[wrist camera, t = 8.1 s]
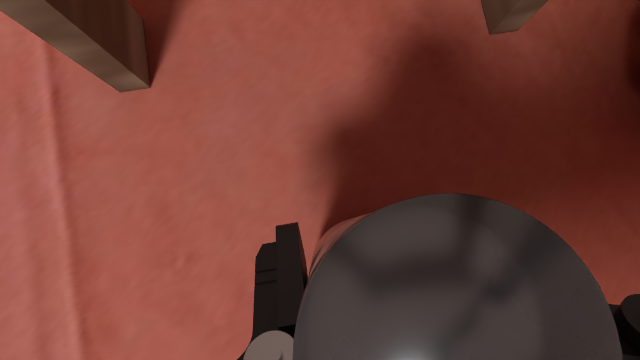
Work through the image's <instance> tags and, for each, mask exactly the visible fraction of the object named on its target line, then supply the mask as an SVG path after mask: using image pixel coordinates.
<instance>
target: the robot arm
mask: <svg viewBox="0 0 640 360" xmlns="http://www.w3.org/2000/svg"><path fill="white" fill-rule="evenodd" d="M307 282H308V275H307V267H306V260H305V254H304V249H303V244H302V240H301V235H300V230H299V226H298V222H296V223H290V224H284V225H278V226H276V242H273V243H267V244H262V246H261V248H260V250H259V252H258V254H257V256H256V263H255V289H254V314H253V333H252V338H251V341H250V343H249V345H248V347H247V349H246V350H245V352H244V353H243V354H242V355H241V356H240V357H239V358H238V359H237V360H293V341H294V334H295V328H296V322H297V317H298V313H299V308H300V304H301V301H302V297H303V294H304V290H305V287H306V285H307ZM608 305H609V307H610V310H611V313H612V316H613V319H614V322H615V324H616V327H617V331H618V336H619V341H620V345H621V350H622V359H623V360H640V294H633V295H630V296H627V297H626V298H625V299H624V300H623V301H622V303H621V304H620V305H613V304H608Z"/></svg>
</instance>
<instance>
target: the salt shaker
mask: <svg viewBox="0 0 640 360" xmlns="http://www.w3.org/2000/svg"><path fill="white" fill-rule="evenodd" d="M293 360H623V359H622V350H621V345H620V341H619V336H618V331H617V327H616V324H615V322H614V319H613V316H612V313H611V310H610V307H609V305H608V303H607V301H606V299H605V297H604V294H603V292H602V290H601V288H600V286H599V285H598V283H597V281H596V280H595V278H594V277H593V275H592V274H591V272H590V270H589V269H588V267H587V266H586V265H585V264H584V262H583V261H582V260H581V259H580V257H579V256H578V255H577V254H576V253H575V251H574V250H573V249H572V248H571V247H570V246H569V245H568V244H567V243H566V242H565V241H564V240H563V239H562V238H560V237H559V236H558V235H557V234H556V233H555V232H553V231H552V230H551V229H549V228H548V227H547V226H545V225H544V224H543V223H542V222H540V221H538V220H537V219H535V218H533V217H532V216H530V215H528V214H526V213H525V212H523V211H521V210H519V209H516V208H514V207H512V206H509V205H507V204H505V203H502V202H498V201H495V200H492V199H488V198H485V197H479V196H473V195H466V194H444V193H442V194H433V195H424V196H419V197H415V198H411V199H407V200H403V201H400V202H397V203H393V204H390V205H388V206H385V207H383V208H380V209H377V210H375V211H373V212H371V213H368V214H365V215H361V216H358V217H354V218H351V219H347V220H344V221H342V222H339V223H338V224H336V225H334V226H333V227H331V228H330V229H329V230H328V231H327V232H326V233H325V234H324V235H323V236H322V237H321V239H320V240H319V242H318V243H317V245H316V248H315V250H314V253H313V256H312V261H311V266H310V271H309V277H308V282H307V285H306V287H305V290H304V294H303V297H302V301H301V304H300V308H299V313H298V317H297V322H296V328H295V334H294V341H293Z"/></svg>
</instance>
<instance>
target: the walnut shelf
mask: <svg viewBox="0 0 640 360" xmlns="http://www.w3.org/2000/svg"><path fill="white" fill-rule="evenodd" d="M547 1H548V0H481V3H482V7H483V11H484V15H485V19H486V22H487V26H488V30H489V34H490V35H491V34H497V33H504V32H510V31H517V30H518V29H519V28H521V27H522V26H523V25H524V24H525V23H526V22H527V21H528V20H529V19H530V18H531V17H532V16H533V15H534V14H535V13H536V12H537V11H538V10H539V9H540V8H541V7H542V6H543V5H544V4H545V3H546V2H547ZM0 11H2V12H3V13H5V14H6V15H8V16H9V17H10V18H12V19H13V20H15V21H16V22H18V23H19V24H21V25H22V26H24V27H25V28H27V29H28V30H30V31H31V32H32V33H34V34H35V35H37V36H38V37H40V38H41V39H43V40H44V41H46V42H47V43H49V44H50V45H52V46H53V47H55V48H56V49H57V50H59V51H60V52H62V53H63V54H65V55H66V56H68V57H69V58H71V59H72V60H74V61H75V62H77V63H78V64H79V65H81V66H82V67H84V68H85V69H87V70H88V71H90V72H91V73H93V74H94V75H96V76H97V77H99V78H100V79H101V80H103V81H104V82H106V83H107V84H109V85H110V86H112V87H113V88H115V89H116V90H118V91H119V92H125V91H132V90H138V89H145V88H150V82H149V73H148V63H147V54H146V44H145V34H144V25H143V19H142V18H141V17H140V16H139V14H138V13H137V12H136V11H135V10H134V9H133V7H132V6H131V5H130V4H129V3H128V1H127V0H0Z"/></svg>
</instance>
